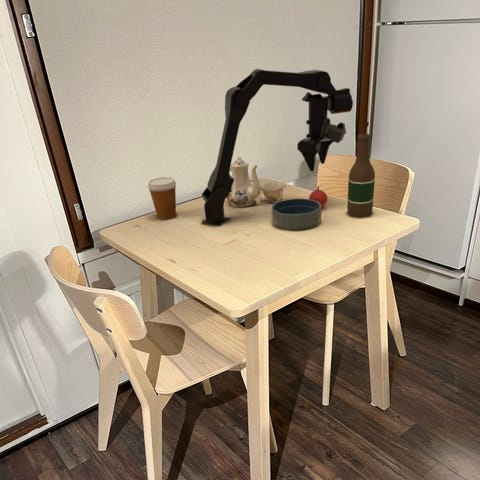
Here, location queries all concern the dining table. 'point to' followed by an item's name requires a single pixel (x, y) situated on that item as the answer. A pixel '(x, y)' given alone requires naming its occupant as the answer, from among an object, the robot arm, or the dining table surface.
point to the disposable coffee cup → (163, 196)
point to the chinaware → (250, 186)
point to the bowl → (296, 214)
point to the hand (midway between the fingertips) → (317, 167)
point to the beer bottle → (361, 181)
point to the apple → (319, 197)
